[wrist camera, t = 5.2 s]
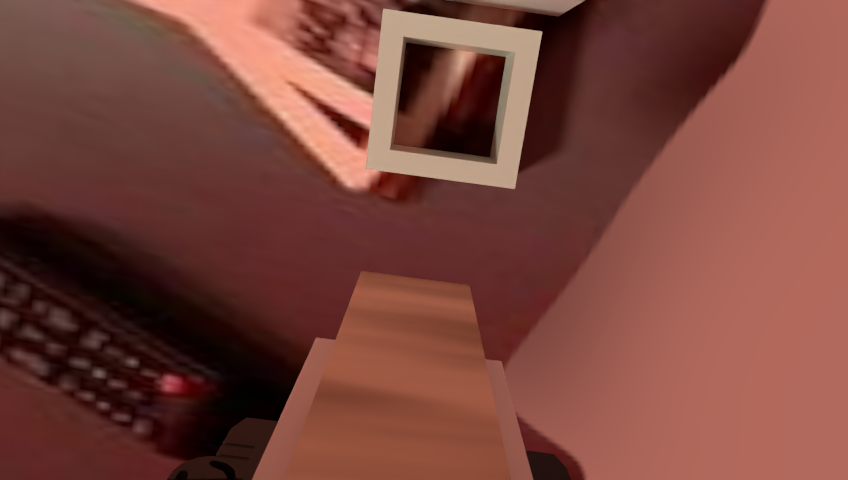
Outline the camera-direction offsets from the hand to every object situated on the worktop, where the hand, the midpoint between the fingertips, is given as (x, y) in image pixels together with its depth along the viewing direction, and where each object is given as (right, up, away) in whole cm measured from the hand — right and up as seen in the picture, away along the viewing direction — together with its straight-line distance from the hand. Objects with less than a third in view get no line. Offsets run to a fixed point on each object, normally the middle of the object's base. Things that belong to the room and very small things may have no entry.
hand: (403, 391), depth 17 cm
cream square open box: (+2, +13, +20) cm, 24 cm away
